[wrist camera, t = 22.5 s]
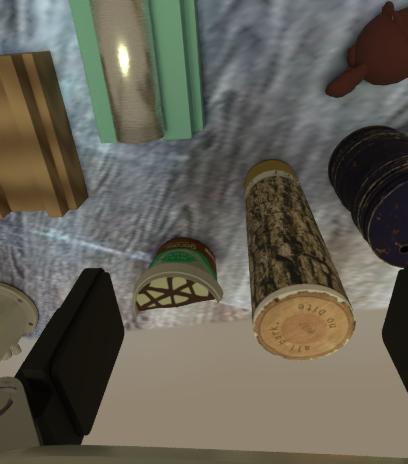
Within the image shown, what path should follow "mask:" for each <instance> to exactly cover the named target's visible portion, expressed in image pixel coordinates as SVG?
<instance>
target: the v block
mask: <svg viewBox="0 0 408 464" xmlns="http://www.w3.org/2000/svg"><path fill="white" fill-rule="evenodd" d="M148 2H149V10H150V18H151V26H152V34H153V42H154V50H155V58H156V66H157V74H158V82H159V90H160V98H161V106H162V114H163V122H164V130H165V135H164V140H173V139H192V136H193V134H194V131H203V130H204V126H205V116H204V101H203V86H202V71H201V56H200V41H199V26H198V11H197V0H148ZM69 4H70V8H71V13H72V17H73V21H74V26H75V30H76V35H77V39H78V43H79V48H80V52H81V57H82V61H83V66H84V70H85V74H86V79H87V83H88V88H89V92H90V96H91V101H92V105H93V110H94V114H95V118H96V123H97V127H98V132H99V136H100V140H101V143H112V142H118V141H117V140H116V137H115V131H114V126H113V121H112V116H111V111H110V106H109V101H108V96H107V91H106V86H105V81H104V76H103V71H102V66H101V61H100V56H99V51H98V46H97V41H96V36H95V31H94V26H93V21H92V16H91V11H90V6H89V1H88V0H69Z"/></svg>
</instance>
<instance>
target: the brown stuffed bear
mask: <svg viewBox="0 0 408 464" xmlns="http://www.w3.org/2000/svg"><path fill="white" fill-rule="evenodd" d="M347 61H348V64H349V66H350V67H348V68H347V69H346V70H345V71H344V73H343V74H342V75H340V76H339V77H338V78H336V79H335V80H334V81H332V82H331V83H330V84H329V85H328V87H327V89H326V94H327V95H329V96H332V97H335V98H338V97H343V96H345V95H346V94H348V93H350V92H351V91H352V90H354V89H355V87H356V85H358V84H359V83H360V82H361V81H362V80H363V79H364V80H365V81H367V82H369V83H371V84H374V85H389V84H394V83H398V82H400V81H402V80H404V79H406V78H408V8H405V9H402V10H400V11H397V12H396V11H395V10H394V5H393V3H392V2H390V1H388V2H386V4H385V5H384V7H382V12H381V14H380V15H378V16H376V17H375V18H374V19H373V20H372V21H371V22H370V23H369V24H368V25H366V26H365V28H364V29H363V31H362V32H361V34H360V36H359V37H358V39H357V42H356V45H353V46H352V47H351V48H349V50H348V56H347Z"/></svg>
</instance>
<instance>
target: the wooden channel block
mask: <svg viewBox="0 0 408 464" xmlns="http://www.w3.org/2000/svg"><path fill="white" fill-rule="evenodd" d="M87 198H88V192H87V189H86V185H85V181H84V177H83V174H82V170H81V166H80V163H79V159H78V155H77V151H76V148H75V144H74V140H73V136H72V133H71V129H70V125H69V121H68V118H67V114H66V110H65V107H64V103H63V99H62V95H61V92H60V88H59V84H58V80H57V77H56V73H55V69H54V65H53V62H52V58H51V54H50V51H44V52H32V53H19V54H6V55H0V219H3V218H4V217H5V216H7V215H8V214H9V213H10V212H11V211H43V210H47V213H48V216H49V217H63V216H64V215H65V214H66V213H67V212H68V210H77V209H78V208H79V207H80V206H81V205H82V203H83V202H84V201H85V200H86V199H87Z"/></svg>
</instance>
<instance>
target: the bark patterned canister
mask: <svg viewBox="0 0 408 464" xmlns="http://www.w3.org/2000/svg"><path fill="white" fill-rule="evenodd" d="M244 191H245V209H246V225H247V241H248V257H249V272H250V288H251V304H252V319H253V328H254V334H255V337H256V339H257V341H258V342H259V344H260V345H261V346H262V347H263V348H264V349H266V350H267V351H268V352H270V353H272V354H274V355H276V356H278V357H281V358H285V359H290V360H312V359H317V358H321V357H324V356H327V355H329V354H332V353H334V352H335V351H337V350H339V349H340V348H341V347H343V346H344V345H345V344H346V343H347V342H348V341H349V339H350V338H351V336H352V334H353V332H354V329H355V322H356V321H355V316H354V313H353V309H352V307H351V304H350V302H349V300H348V297H347V295H346V292H345V290H344V288H343V285H342V283H341V281H340V278H339V276H338V273H337V271H336V269H335V266H334V264H333V262H332V259H331V257H330V254H329V252H328V250H327V247H326V245H325V243H324V240H323V238H322V235H321V233H320V231H319V228H318V226H317V224H316V221H315V219H314V216H313V214H312V212H311V209H310V207H309V205H308V202H307V200H306V198H305V195H304V193H303V190H302V188H301V186H300V183H299V181H298V179H297V177H296V174H295V172H294V171H293V169H292V168H291V167H290V166H288V165H287V164H285V163H283V162H281V161H276V160H269V161H264V162H261V163H259V164H257V165H256V166H254V167H253V168H252V169H251V170H250V171H249V173H248V175H247V177H246V179H245V184H244Z"/></svg>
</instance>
